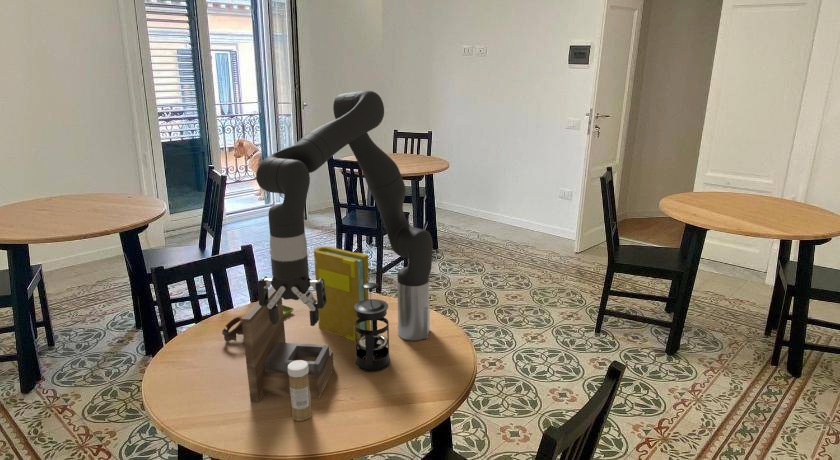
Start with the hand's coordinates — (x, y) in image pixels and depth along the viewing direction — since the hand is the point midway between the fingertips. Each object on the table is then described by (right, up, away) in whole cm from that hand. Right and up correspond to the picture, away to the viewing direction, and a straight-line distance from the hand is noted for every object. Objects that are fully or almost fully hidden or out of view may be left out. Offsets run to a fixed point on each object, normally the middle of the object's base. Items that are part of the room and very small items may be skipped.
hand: (294, 323), depth 117 cm
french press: (+15, -16, +29) cm, 36 cm away
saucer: (-20, -8, +57) cm, 61 cm away
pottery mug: (-25, -12, +42) cm, 50 cm away
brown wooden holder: (-4, -18, +21) cm, 28 cm away
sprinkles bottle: (0, -23, +7) cm, 24 cm away
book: (+4, -10, +47) cm, 48 cm away
